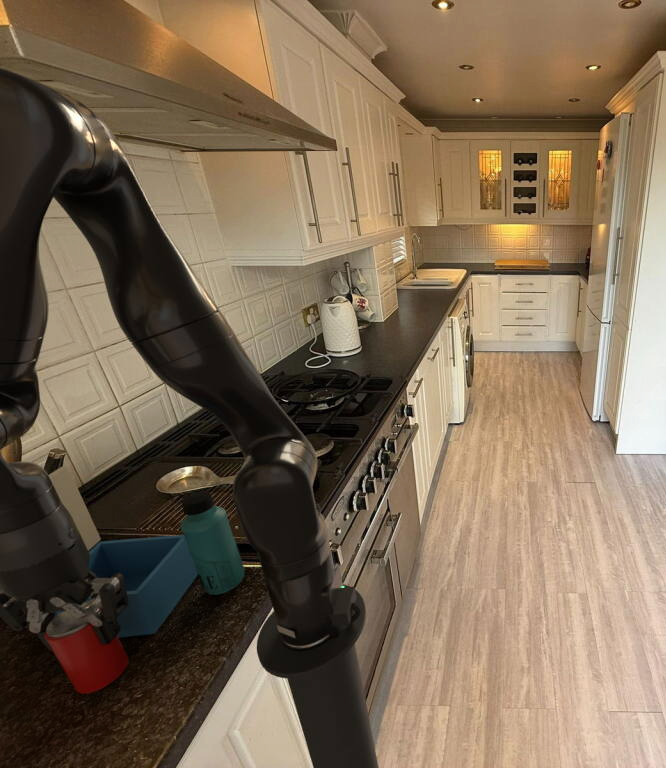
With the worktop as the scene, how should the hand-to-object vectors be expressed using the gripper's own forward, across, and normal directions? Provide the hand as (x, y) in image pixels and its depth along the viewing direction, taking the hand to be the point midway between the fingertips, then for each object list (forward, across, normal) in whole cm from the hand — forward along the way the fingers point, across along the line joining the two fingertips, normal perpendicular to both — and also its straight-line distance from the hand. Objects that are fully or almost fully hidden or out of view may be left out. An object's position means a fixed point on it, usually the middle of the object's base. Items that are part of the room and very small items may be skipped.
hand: (86, 641), depth 56 cm
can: (+7, 0, 0) cm, 7 cm away
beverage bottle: (+8, +9, +15) cm, 19 cm away
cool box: (+8, -5, +13) cm, 16 cm away
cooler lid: (-9, -12, +13) cm, 20 cm away
